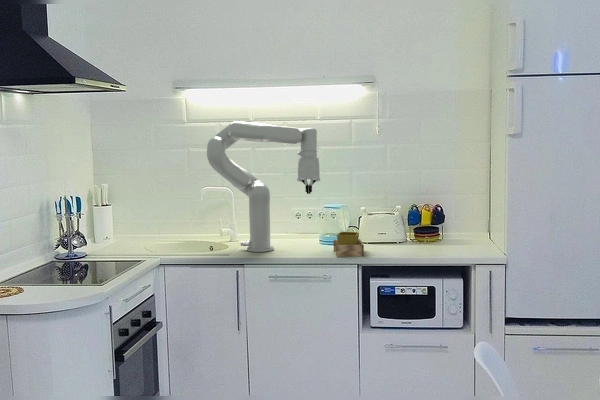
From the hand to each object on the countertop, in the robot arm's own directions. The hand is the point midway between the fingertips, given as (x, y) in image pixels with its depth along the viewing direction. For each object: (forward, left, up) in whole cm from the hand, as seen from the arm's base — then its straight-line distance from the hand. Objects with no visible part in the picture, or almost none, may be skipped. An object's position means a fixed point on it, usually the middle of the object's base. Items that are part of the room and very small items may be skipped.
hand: (308, 193), depth 306 cm
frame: (+17, -16, -26) cm, 35 cm away
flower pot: (+17, -15, -26) cm, 35 cm away
